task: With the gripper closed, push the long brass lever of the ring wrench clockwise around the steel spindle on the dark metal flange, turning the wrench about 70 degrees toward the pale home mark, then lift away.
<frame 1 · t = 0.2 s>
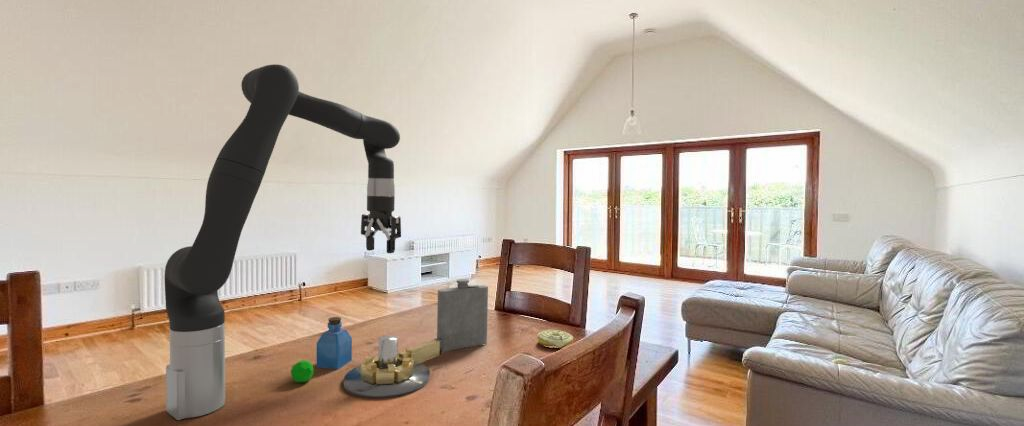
hand: (380, 251, 127), 28 cm above the table, tool pointing down, fingers open, 8 cm apart
hip flask: (461, 347, 132), on the table
ring wrench: (407, 358, 112), point 3 cm above the table, hinge at 0.0°
decorated donut: (555, 345, 136), on the table
flange: (387, 379, 108), on the table
polyhedron: (302, 382, 106), on the table
perfume bottle: (334, 364, 117), on the table
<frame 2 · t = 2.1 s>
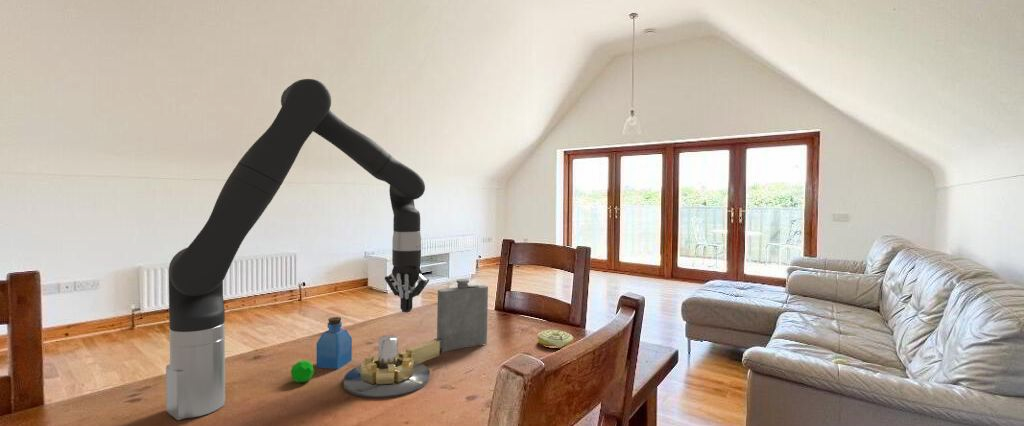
hand: (406, 311, 120), 13 cm above the table, tool pointing down, fingers closed
nothing on the table moved.
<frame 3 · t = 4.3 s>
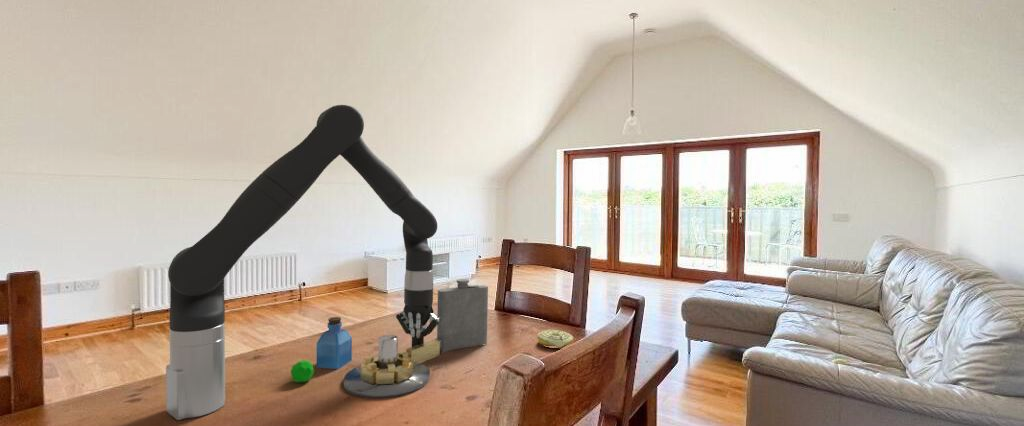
hand: (417, 350, 119), 3 cm above the table, tool pointing down, fingers closed
ring wrench: (407, 358, 112), point 3 cm above the table, hinge at -0.2°, touching gripper
everything else where it was.
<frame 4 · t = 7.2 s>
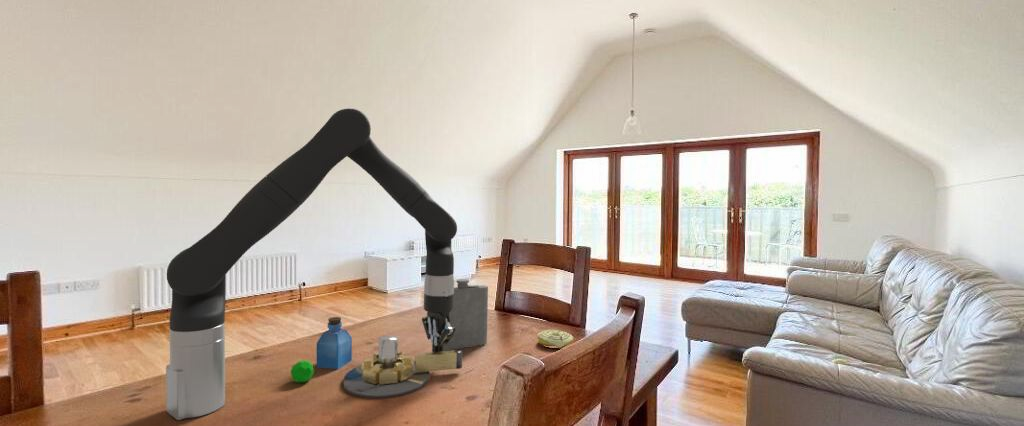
hand: (437, 358, 114), 3 cm above the table, tool pointing down, fingers closed
ring wrench: (413, 363, 109), point 4 cm above the table, hinge at -38.0°, touching gripper
everything else where it was.
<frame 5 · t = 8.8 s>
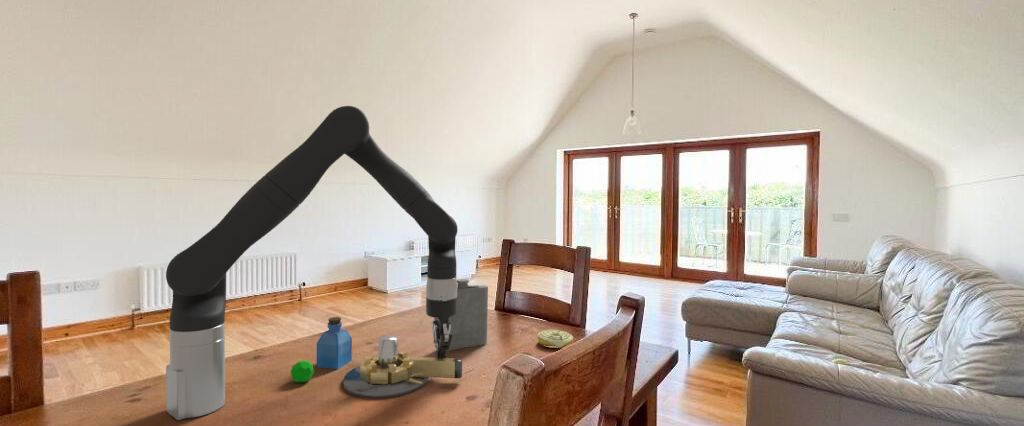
hand: (441, 364, 110), 3 cm above the table, tool pointing down, fingers closed
ring wrench: (412, 366, 107), point 3 cm above the table, hinge at -58.1°, touching gripper
everything else where it was.
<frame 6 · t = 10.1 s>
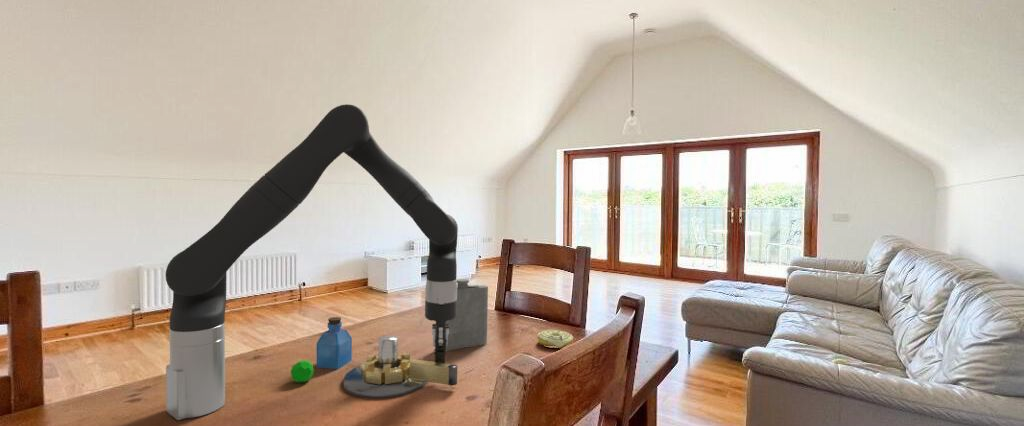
hand: (439, 369, 107), 3 cm above the table, tool pointing down, fingers closed
ring wrench: (410, 368, 106), point 3 cm above the table, hinge at -71.5°, touching gripper
everything else where it was.
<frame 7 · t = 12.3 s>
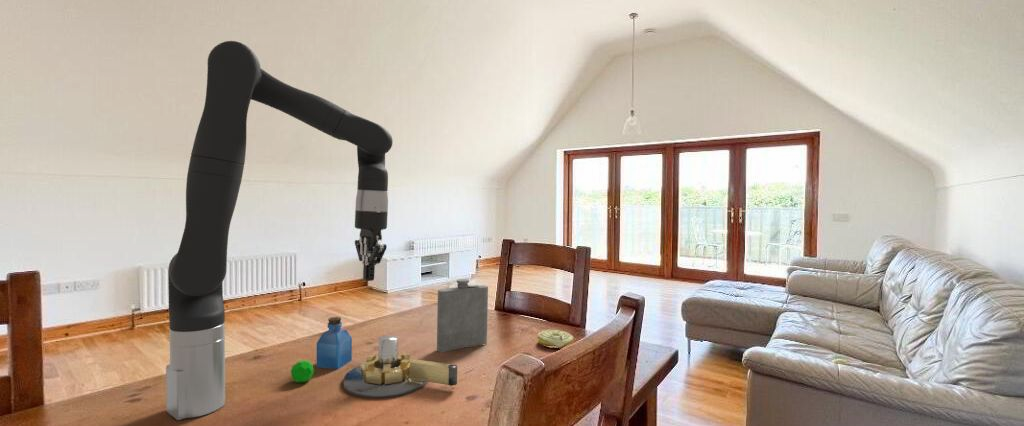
hand: (368, 280, 108), 24 cm above the table, tool pointing down, fingers closed
ring wrench: (410, 368, 106), point 3 cm above the table, hinge at -71.7°
everything else where it was.
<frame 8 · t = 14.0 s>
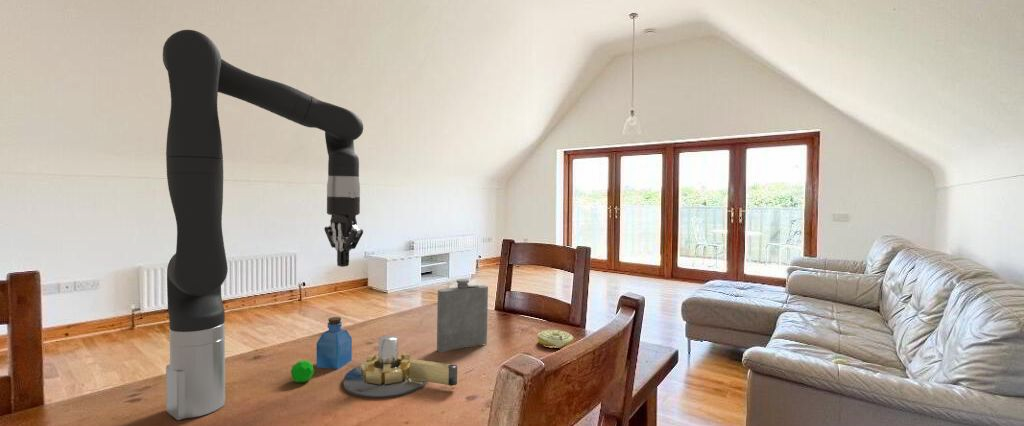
hand: (343, 266, 109), 27 cm above the table, tool pointing down, fingers closed
nothing on the table moved.
at the end: ring wrench at -72° (first picture: +0°); ring wrench touching nothing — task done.
